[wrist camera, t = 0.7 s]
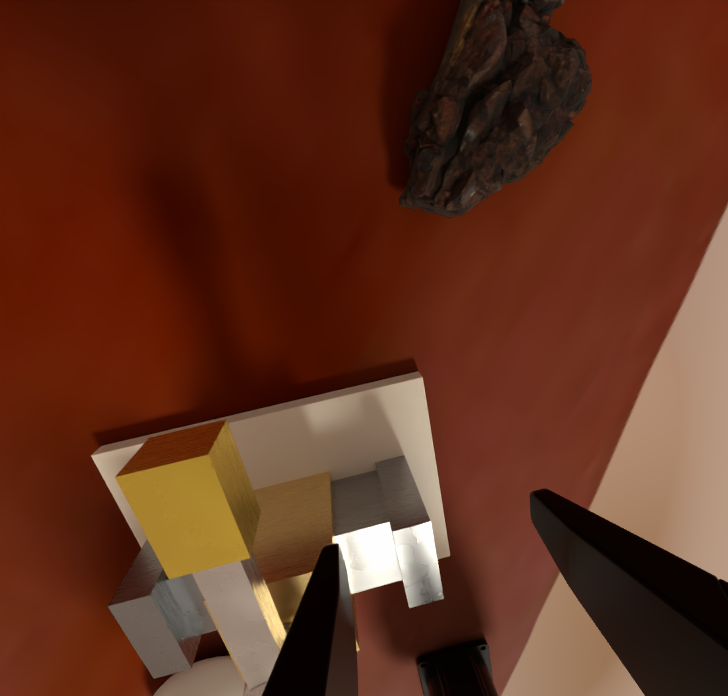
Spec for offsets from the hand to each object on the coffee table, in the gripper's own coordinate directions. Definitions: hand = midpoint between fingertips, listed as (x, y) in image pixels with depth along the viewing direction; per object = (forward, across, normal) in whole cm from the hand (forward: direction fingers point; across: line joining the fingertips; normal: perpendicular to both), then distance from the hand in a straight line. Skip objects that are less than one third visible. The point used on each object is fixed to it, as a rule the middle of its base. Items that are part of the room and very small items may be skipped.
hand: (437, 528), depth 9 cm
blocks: (+13, +7, +10) cm, 18 cm away
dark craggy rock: (+14, -10, -15) cm, 22 cm away
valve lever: (+5, +7, +4) cm, 10 cm away
